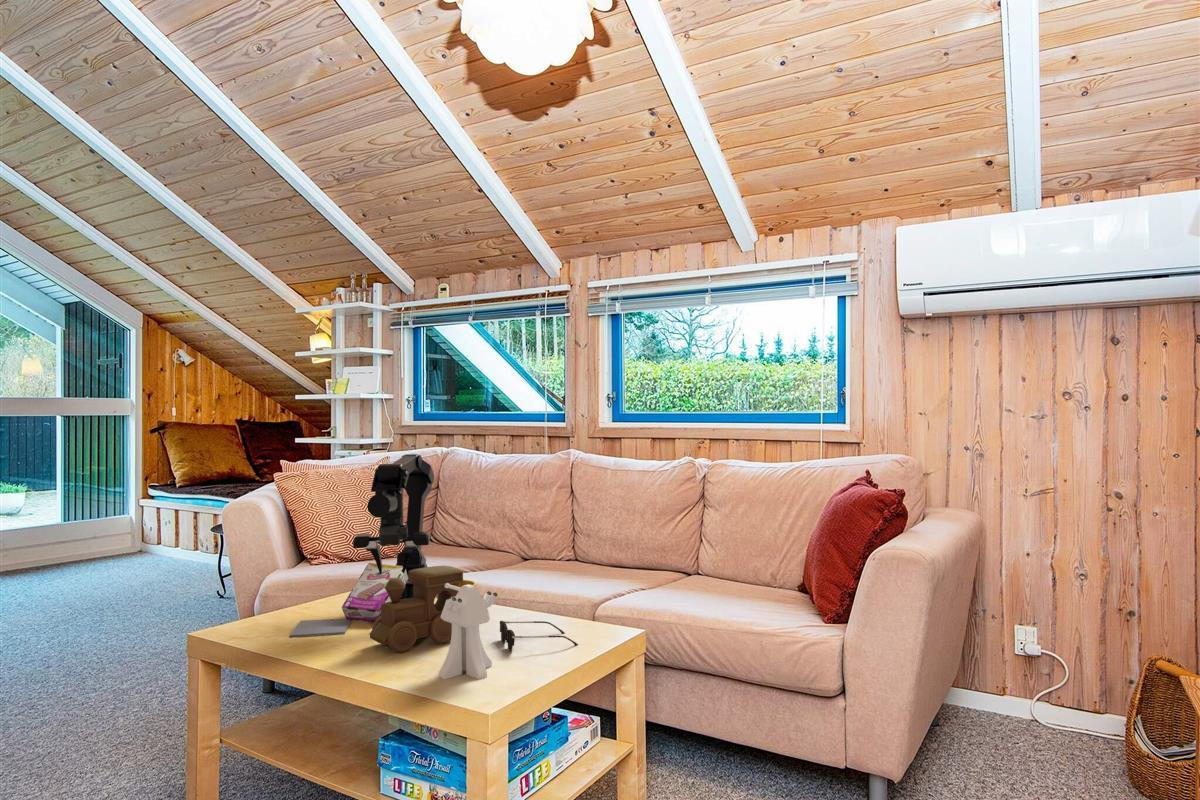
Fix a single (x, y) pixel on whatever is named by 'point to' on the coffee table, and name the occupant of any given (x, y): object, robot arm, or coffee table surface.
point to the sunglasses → (510, 637)
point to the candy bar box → (371, 592)
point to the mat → (321, 627)
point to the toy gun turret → (466, 632)
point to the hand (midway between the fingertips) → (392, 573)
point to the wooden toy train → (416, 608)
